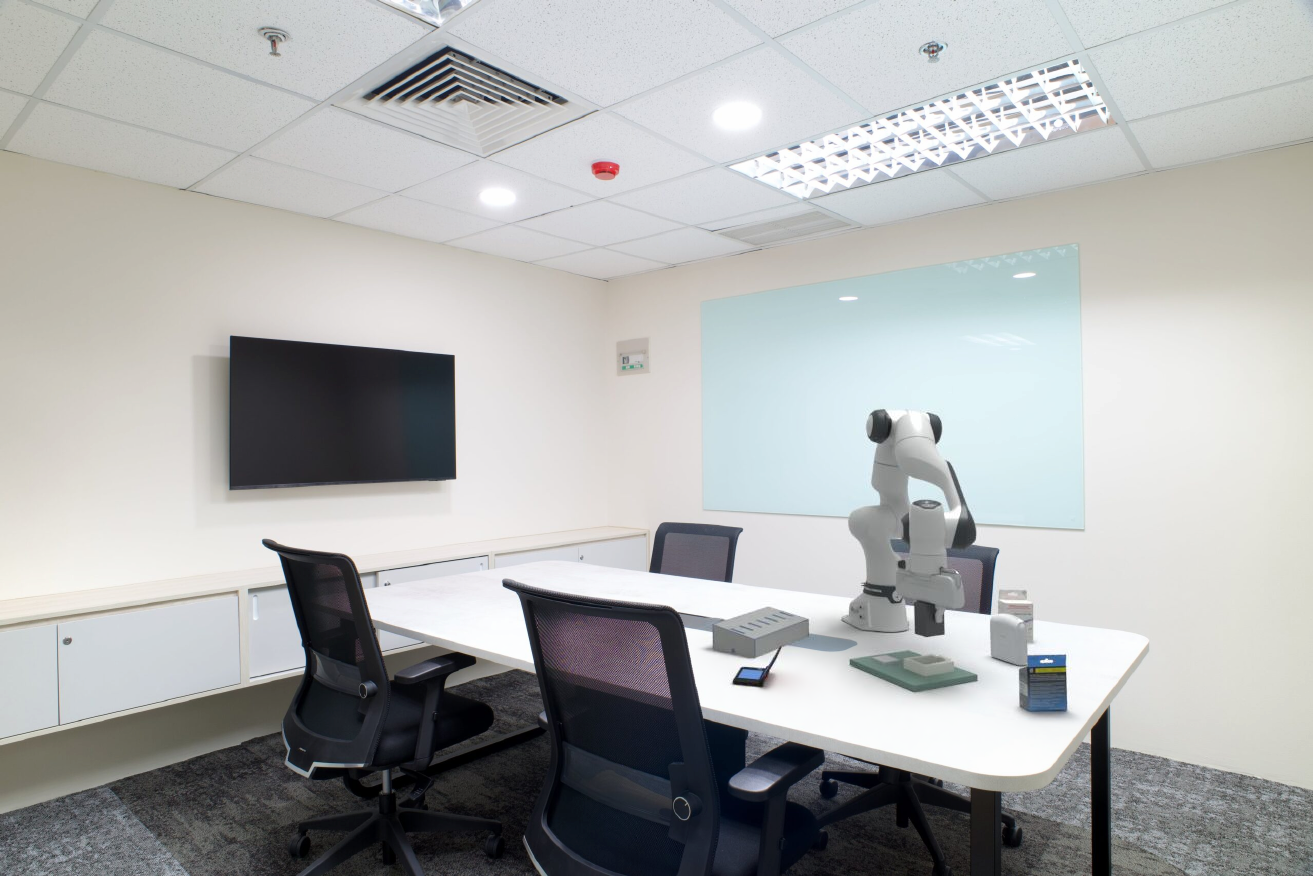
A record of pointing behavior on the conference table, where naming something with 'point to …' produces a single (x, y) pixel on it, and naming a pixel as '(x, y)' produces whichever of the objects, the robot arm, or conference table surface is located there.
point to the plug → (927, 620)
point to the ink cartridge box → (1017, 608)
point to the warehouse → (759, 632)
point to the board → (914, 670)
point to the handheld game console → (754, 674)
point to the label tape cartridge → (1043, 683)
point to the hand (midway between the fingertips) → (929, 619)
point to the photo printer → (1008, 639)
